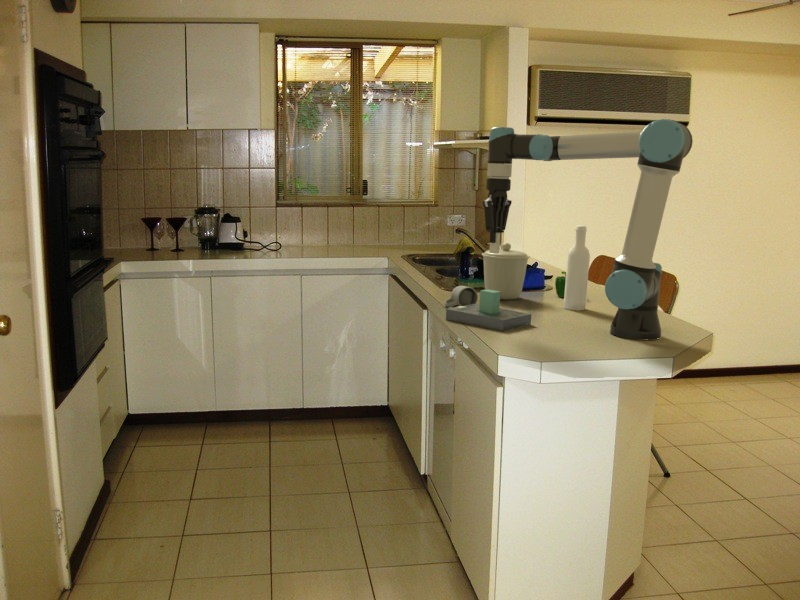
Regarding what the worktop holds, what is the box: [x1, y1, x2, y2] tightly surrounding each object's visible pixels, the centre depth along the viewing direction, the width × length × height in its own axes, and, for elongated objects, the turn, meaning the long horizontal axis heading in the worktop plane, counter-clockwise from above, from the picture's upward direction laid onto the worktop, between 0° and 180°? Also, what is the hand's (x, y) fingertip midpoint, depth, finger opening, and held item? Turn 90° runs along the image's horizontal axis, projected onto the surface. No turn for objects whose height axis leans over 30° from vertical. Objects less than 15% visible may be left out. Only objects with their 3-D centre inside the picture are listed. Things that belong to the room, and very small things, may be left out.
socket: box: [445, 303, 532, 332], centre depth 253 cm, size 22×16×4 cm
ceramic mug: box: [444, 285, 479, 308], centre depth 277 cm, size 11×8×8 cm
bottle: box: [562, 224, 591, 312], centre depth 282 cm, size 8×8×30 cm
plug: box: [478, 289, 501, 314], centre depth 252 cm, size 5×4×9 cm
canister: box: [481, 242, 530, 301], centre depth 299 cm, size 18×18×21 cm
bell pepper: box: [554, 270, 566, 299], centre depth 308 cm, size 8×8×10 cm
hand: (494, 253), depth 249 cm, fingers closed
